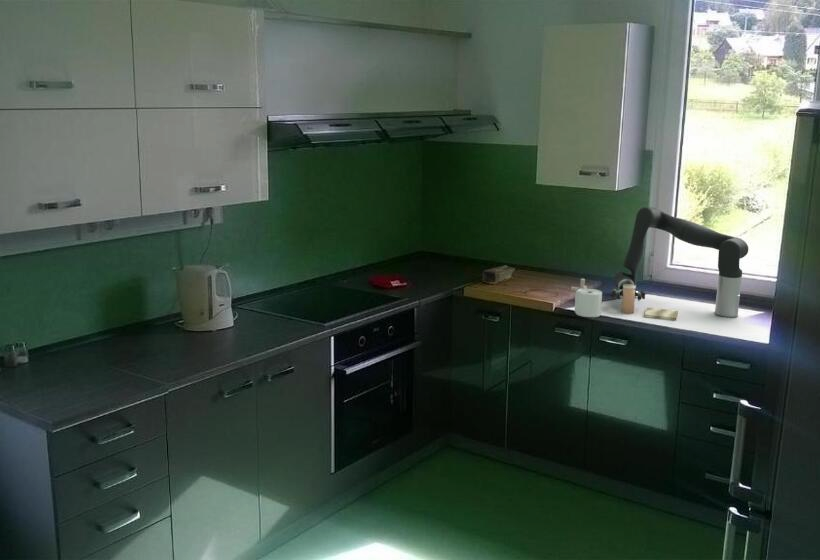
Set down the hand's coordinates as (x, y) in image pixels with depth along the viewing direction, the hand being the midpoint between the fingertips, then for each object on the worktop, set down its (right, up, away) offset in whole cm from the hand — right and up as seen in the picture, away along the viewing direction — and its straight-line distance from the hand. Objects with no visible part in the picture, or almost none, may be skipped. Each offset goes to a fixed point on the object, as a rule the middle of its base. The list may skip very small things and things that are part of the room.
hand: (628, 297), depth 350 cm
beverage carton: (-50, +7, +58) cm, 77 cm away
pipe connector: (-16, -2, +22) cm, 27 cm away
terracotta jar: (0, -6, +3) cm, 7 cm away
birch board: (+14, -8, -1) cm, 16 cm away
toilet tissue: (-18, -7, 0) cm, 20 cm away
